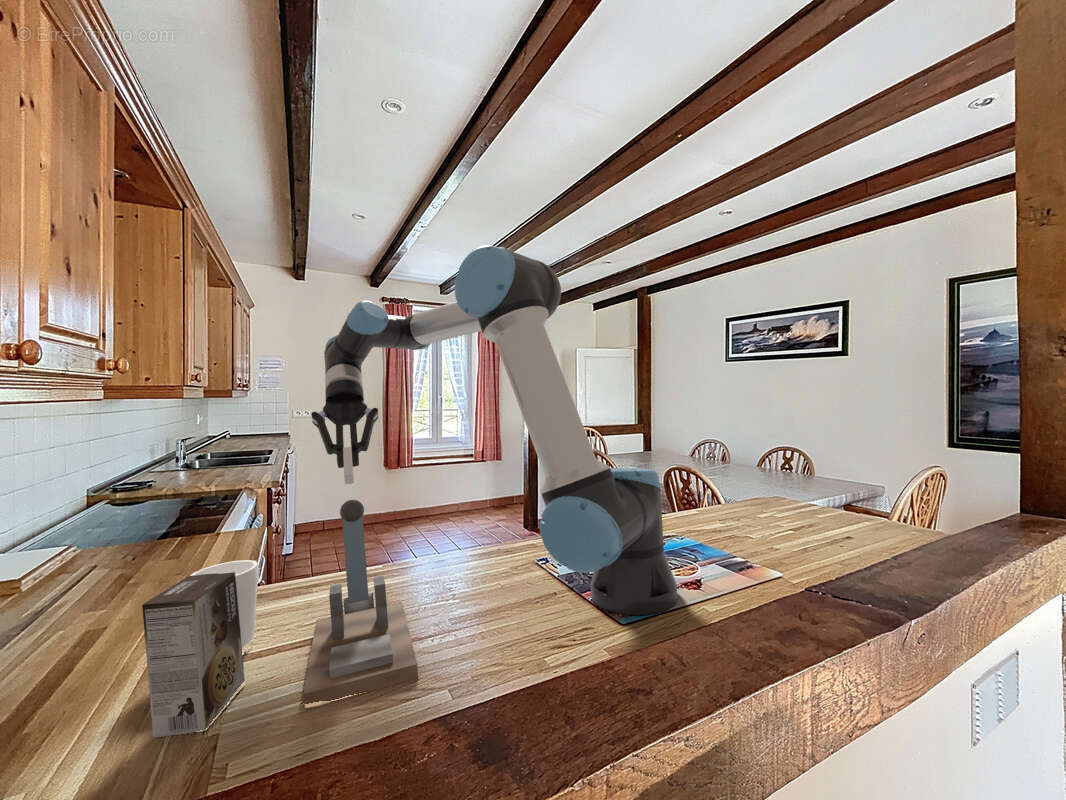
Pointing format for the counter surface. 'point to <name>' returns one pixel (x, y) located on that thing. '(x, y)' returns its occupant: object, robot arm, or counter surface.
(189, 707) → the coffee box
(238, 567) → the foam cup
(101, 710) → the counter surface
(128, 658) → the counter surface
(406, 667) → the press base
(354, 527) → the lever
